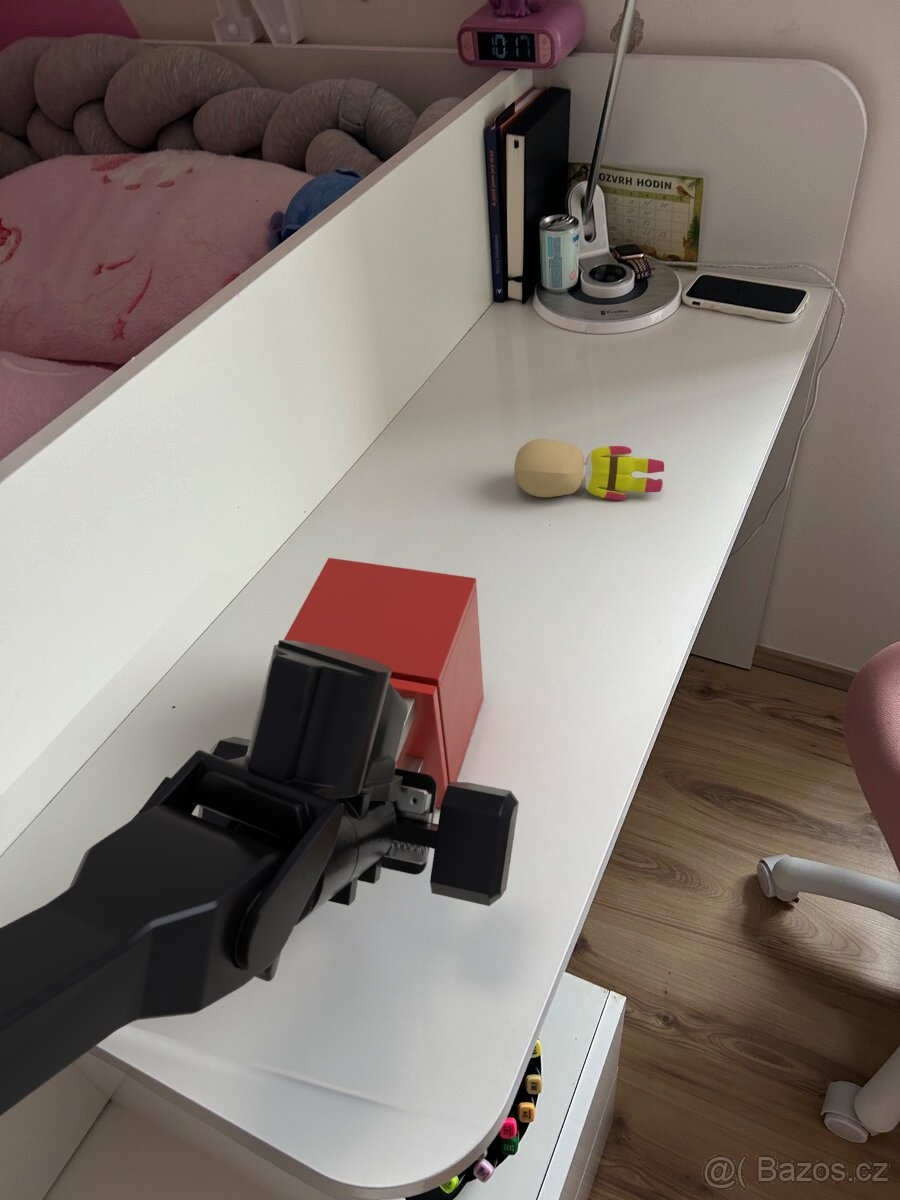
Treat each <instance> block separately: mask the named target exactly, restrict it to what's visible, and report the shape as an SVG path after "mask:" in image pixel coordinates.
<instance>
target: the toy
mask: <svg viewBox="0 0 900 1200" xmlns="http://www.w3.org/2000/svg"><path fill="white" fill-rule="evenodd" d="M631 453H633V452H632V448H630V447H629V446H624V445H608V446H607V445H606V446H601V447H598V448H595V449H592V450H591V451H590V452H589V453H588V455H587V456H586V460H585V457H584V454H583V452H582V450H581V448H580V447H579V446H577V445H575V444H573V443H569V442H563V441H561V440H557V439H551V438H535V439H533V440H530V441H528V442H527V443H525V444H524V445H522V446H521V447H520V448H519V450H518V451H517V453H516V457H515V461H514V467H513V468H514V469H513V470H514V478H515V482H516V484H517V485H518V486H519V487H520V489H522V490H523V492H525V493H527V494H529V495H530V496H533V497H537V498H553V497H560V496H568V495H572V494H574V493H576V492H577V491H578V490H579V489H580V487H581V486H582V483H584V487H585V489H586V491H587V492H589V494H591V495H594V496H596V497H599V498H602V499H607V500H613V501H623V500H625V499H627V497H628V495H627V493H626V492H640V493H660V492H661V491H662V489H663V485H664V481H663V479H661V478H657V479H655V478H651V477H634V476H633V475H632V474H633V473H634V472H640V473H644V474H655V473H664V472H665V461H663V460H659V459H654V458H645V457H635V456H631V455H630V454H631Z"/></svg>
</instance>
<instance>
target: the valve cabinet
mask: <svg viewBox="0 0 900 1200" xmlns="http://www.w3.org/2000/svg"><path fill="white" fill-rule="evenodd" d="M324 563H325V564H324V565H323V567H322V569H321V571H320V572H319V575H318V576H317V578H316V580H315V582H314V583H313V585H312V587H311V589H310V591H309V593H308V594H307V596H306V598H305V600H304V602H303V604H302V605H301V607H300V609H299V611H298V613H297V615H296V616H295V618H294V620H293V622H292V624H291V626H290V627H289V629H288V631H287V632H286V635H285V636H284V639H283V640H290V641H298V642H305V643H311V644H316V645H321V646H325V647H330V648H334V649H338V650H342V651H346V652H349V653H353V654H356V655H360V656H363V657H366V658H369V659H372V660H375V661H377V662H379V663H382V664H384V665H386V666H388V667H390V668H391V669H392V672H391V676H390V678H394V679H399V680H405V681H410V682H416V683H421V684H427V685H432V686H436V687H437V695H438V703H439V712H440V720H441V729H442V737H443V745H444V754H445V762H446V771H447V779H448V784H450V783H451V782H458V781H459V776H460V774H461V770H462V767H463V764H464V762H465V758H466V754H467V752H468V748H469V745H470V742H471V740H472V737H473V733H474V731H475V727H476V725H477V720H478V717H479V714H480V711H481V708H482V705H483V702H484V699H485V696H484V695H485V694H484V680H483V666H482V665H483V663H482V650H481V634H480V633H481V632H480V620H479V619H480V618H479V603H478V589H477V578H476V577H470V576H465V575H457V574H450V573H442V572H435V571H428V570H422V569H421V570H419V569H414V568H407V567H406V568H405V567H399V566H391V565H384V564H376V563H370V562H362V561H356V560H355V561H354V560H347V559H341V558H335V557H334V558H333V557H328V558H327V559H326V561H325V562H324Z"/></svg>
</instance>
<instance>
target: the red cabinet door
mask: <svg viewBox="0 0 900 1200" xmlns="http://www.w3.org/2000/svg"><path fill="white" fill-rule="evenodd" d="M389 683H390V684H391V685H392V686H393V687H394V688H395V690H396V691H397V692H398V693H399V694H400V696H401V697H402V698H403V699H404V700H405V702H406V704H407V707H408V713H407V718H406V721H405V723H404V726H403V730H402V734H401V739H400V743H399V747H398V751H397V755H396V759H395V761H396V767H395V768H397V769H402V770H407V771H413V772H418V773H423V774H428V775H430V776H432V777H433V778H434V779H435V781H436V784H437V799H436V806H435V808H439V809H440V808H441V803H442V800H443V797H444V794H445V791H446V788H447V785H448V779H447V771H446V762H445V754H444V745H443V737H442V729H441V720H440V712H439V703H438V695H437V687H436V686H432V685H427V684H421V683H416V682H410V681H405V680H399V679H394V678H390V680H389Z"/></svg>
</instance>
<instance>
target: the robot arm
mask: <svg viewBox="0 0 900 1200" xmlns="http://www.w3.org/2000/svg"><path fill="white" fill-rule="evenodd" d="M391 672H392V669H391V668H390V667H388V666H386V665H384V664H382V663H379V662H377V661H375V660H372V659H369V658H366V657H363V656H360V655H356V654H353V653H349V652H346V651H342V650H338V649H334V648H330V647H325V646H321V645H316V644H311V643H305V642H298V641H290V640H284V639H278V643H277V644H274V645H273V649H272V653H271V656H270V660H269V664H268V668H267V672H266V676H265V680H264V684H263V688H262V691H261V695H260V699H259V702H258V703H259V704H258V707H257V711H256V715H255V718H254V724H253V727H252V731H251V735H250V738H249V739H247V738H244V737H243V738H242V737H237V736H231V737H228V738H223V739H220V740H219V741H217V742H216V743H215V744H214V745H212V747H211V749H210V750H209V752H206V751H204V750H201V749H198V750H196V752H194V753H193V755H191V756H190V758H189V759H187V761H186V762H185V763H184V764H183V765H182V766H180V768H179V769H178V770H177V771H176V772H175V774H174V775H172V777H169V776H165V777H164V778H163V780H162V781H161V782H160V784H159V785H158V786H157V787H156V788H155V790H154V791H153V793H152V794H151V795H150V797H149V798H148V799H147V800H146V802H145V803H144V804H143V806H142V807H141V809H139V810H138V812H137V813H136V815H134V817H133V818H132V819H131V820H130V821H128V822H127V823H125V824H123V825H122V826H120V827H119V828H118V829H116V830H115V831H113V832H111V833H109V834H108V835H107V836H105V837H104V838H102V839H101V840H99V841H98V842H96V843H95V844H93V845H92V846H90V847H89V848H87V849H86V851H85V852H84V854H83V856H82V858H81V860H80V863H79V865H78V867H77V869H76V871H75V873H74V875H73V879H72V881H71V883H70V884H69V886H68V888H67V889H66V890H65V891H63V892H62V893H60V894H58V896H55V897H54V898H53V899H52V900H50V901H49V902H47V903H46V904H44V905H42V906H40V907H38V908H37V909H34V910H32V911H31V912H28V913H27V914H25V915H23V916H21V917H19V918H17V919H15V920H13V921H11V922H9V923H7V924H5V925H3V926H1V927H0V1117H1V1116H3V1115H4V1114H5V1113H7V1112H8V1111H9V1110H11V1109H12V1108H13V1107H15V1106H16V1105H17V1104H19V1103H20V1102H21V1101H23V1100H24V1099H26V1098H27V1097H28V1096H30V1095H31V1094H32V1093H33V1092H35V1091H36V1090H38V1089H39V1088H41V1087H42V1086H43V1085H45V1084H46V1083H47V1082H48V1081H50V1080H51V1079H53V1078H54V1077H55V1076H57V1075H58V1074H60V1073H61V1072H63V1070H65V1069H66V1068H67V1067H69V1066H70V1065H72V1064H73V1063H75V1062H76V1061H77V1060H78V1059H80V1058H81V1057H82V1056H84V1055H85V1054H87V1053H88V1052H90V1051H91V1050H92V1049H93V1048H95V1047H96V1046H98V1045H99V1044H100V1043H101V1042H103V1041H104V1040H105V1039H107V1038H109V1036H111V1035H113V1034H114V1033H115V1032H117V1031H118V1030H120V1029H122V1028H123V1027H126V1026H127V1025H130V1024H131V1023H133V1022H137V1021H142V1020H152V1019H160V1018H161V1019H162V1018H169V1017H177V1016H178V1017H179V1016H187V1015H194V1014H196V1013H199V1012H201V1011H202V1010H204V1009H206V1008H208V1007H209V1006H211V1005H213V1004H214V1003H217V1002H218V1001H220V1000H221V999H224V998H225V997H226V996H228V995H230V994H232V993H234V992H235V991H237V990H239V989H241V988H243V987H244V986H245V985H247V983H249V982H250V981H252V980H253V979H254V978H257V979H259V980H262V981H264V982H271V981H272V980H273V979H274V978H275V976H276V973H277V970H278V965H279V962H280V958H281V955H282V951H283V949H284V947H285V946H286V944H287V942H288V941H289V939H290V936H291V934H292V932H293V931H294V929H295V927H296V926H298V925H299V924H301V922H303V921H305V919H307V918H308V917H309V916H311V915H312V914H313V913H314V912H316V911H317V910H318V909H320V907H322V906H323V905H324V904H326V903H327V902H331V903H335V904H339V905H344V906H347V907H348V906H350V905H351V904H353V903H354V902H355V901H356V896H357V890H358V882H364V883H369V884H372V885H375V884H376V883H377V882H378V881H379V880H380V878H381V872H382V869H387V870H390V871H395V872H399V873H404V874H408V875H412V876H413V875H415V876H416V875H417V876H418V875H420V874H421V873H423V872H424V871H425V869H426V868H427V866H428V861H429V854H430V849H433V850H434V851H433V856H432V857H433V858H432V865H431V871H430V878H429V884H430V891H431V894H433V895H438V896H442V897H446V898H451V899H456V900H460V901H464V902H468V903H474V904H477V905H481V906H487V907H490V906H492V905H493V904H494V903H496V902H497V901H499V899H501V898H502V897H503V895H504V894H505V892H506V891H507V889H508V888H507V887H508V880H509V874H510V867H511V860H512V853H513V846H514V839H515V833H516V826H517V818H518V810H519V805H520V802H519V800H518V798H517V797H516V796H515V794H514V793H513V792H512V790H509V789H504V788H500V787H499V788H498V787H494V786H489V785H483V784H478V783H473V782H466V781H465V782H464V781H457V782H451V783H450V784H448V785H447V788H446V791H445V794H444V797H443V800H442V803H441V808H439V816H438V822H437V823H434V820H435V812H436V807H435V806H436V799H437V784H436V781H435V779H434V778H433V777H432V776H430V775H428V774H423V773H418V772H413V771H407V770H402V769H397V768H395V767H396V761H395V759H396V755H397V751H398V747H399V743H400V739H401V734H402V730H403V726H404V723H405V721H406V718H407V713H408V707H407V704H406V702H405V700H404V699H403V698H402V697H401V696H400V694H399V693H398V692H397V691H396V690H395V688H394V687H393V686H392V685H391V684H390V683H389V680H390V676H391ZM197 807H198V812H197V815H195V814H193V813H194V812H195V810H196V809H197Z"/></svg>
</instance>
